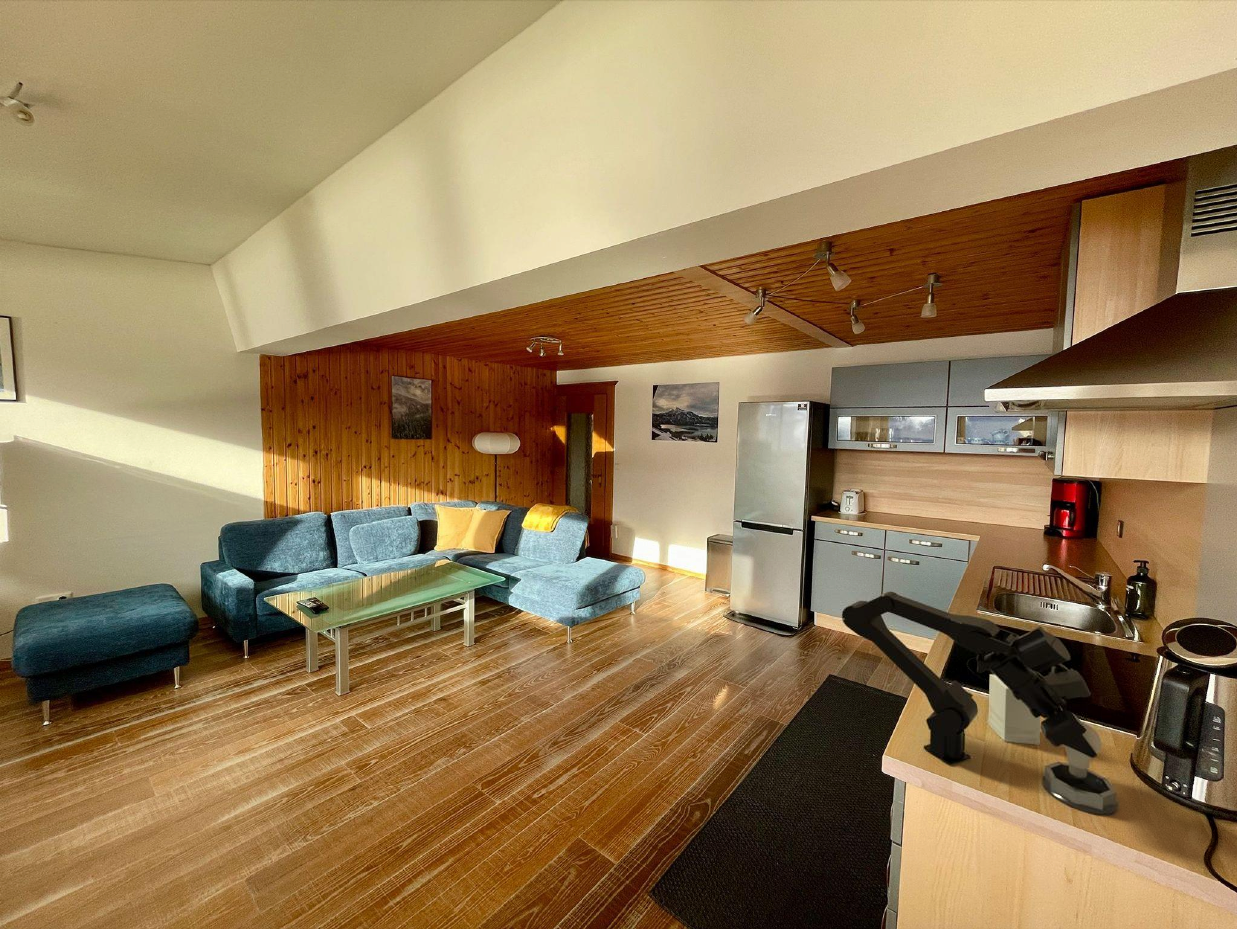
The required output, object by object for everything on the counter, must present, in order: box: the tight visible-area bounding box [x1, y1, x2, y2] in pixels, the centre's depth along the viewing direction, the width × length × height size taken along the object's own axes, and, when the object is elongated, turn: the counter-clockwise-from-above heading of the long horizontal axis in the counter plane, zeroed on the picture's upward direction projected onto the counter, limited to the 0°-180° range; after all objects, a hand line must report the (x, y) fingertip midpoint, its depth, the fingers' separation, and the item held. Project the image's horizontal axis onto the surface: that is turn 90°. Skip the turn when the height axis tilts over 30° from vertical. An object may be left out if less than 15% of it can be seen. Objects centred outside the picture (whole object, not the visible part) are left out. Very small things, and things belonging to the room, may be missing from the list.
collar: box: [1041, 761, 1119, 816], centre depth 99 cm, size 11×11×3 cm
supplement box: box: [988, 673, 1041, 746], centre depth 119 cm, size 7×7×13 cm
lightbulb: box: [1062, 721, 1102, 778], centre depth 99 cm, size 6×6×11 cm
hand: (1088, 746), depth 98 cm, fingers closed on lightbulb, 6 cm apart
